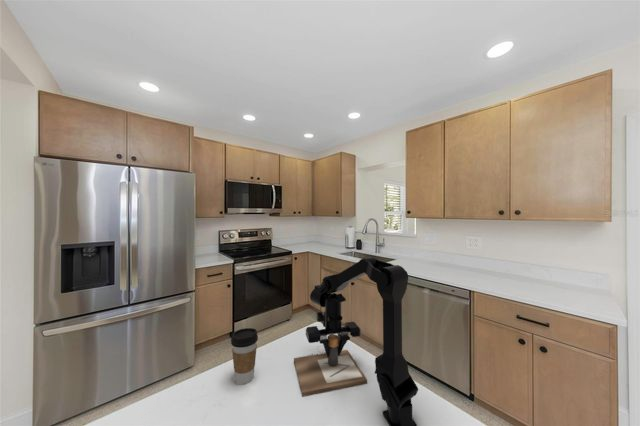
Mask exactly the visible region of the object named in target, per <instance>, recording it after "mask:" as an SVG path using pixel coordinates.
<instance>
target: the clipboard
mask: <svg viewBox="0 0 640 426" xmlns="http://www.w3.org/2000/svg"><path fill="white" fill-rule="evenodd" d="M293 365H294V367H295V373H296V375H297V379H298V380H297V381H298V384H299V389H300V392H301V396H302V397H308V396H311V395H312V396H313V395H318V394H322V393H327V392H332V391H336V390H337V391H338V390H340V389H341V390H342V389H347V388H350V387H351V388H352V387H354V386H356V387H357V386H362V385H365V384H368V379H367V376H365V374H364V372H363V371H362V370H361V368H360V367H359V365H358V363H357V361H355V359H354V357H353V356H352V355H351V353H350V351H349V350H348V349H342V351H341V353H340V355H339V356H338V365H336V366H330V365H329V364H328V357H327V355H326V352H325V353H319V354H311V355H306V356H298V357H293Z"/></svg>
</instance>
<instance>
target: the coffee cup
mask: <svg viewBox="0 0 640 426" xmlns="http://www.w3.org/2000/svg"><path fill="white" fill-rule="evenodd" d="M258 336H259V335H258V331H257V329H256V328H251V327H247V328H242V329H241V328H240V329H237V330H235V331H234V332H233V333H232V337H231V339H230V340H231V341H230V343H231V346H232V348H231V351H232V361H233V362H232V363H233V371H234V372H233V373H234V382H235V383H236V384H237V385H246V384H249V383H250V382H252V381H253V379H254V378H255V367H256V357H257V347H258V344H257V341H258V340H259V337H258Z"/></svg>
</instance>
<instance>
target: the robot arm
mask: <svg viewBox="0 0 640 426" xmlns="http://www.w3.org/2000/svg"><path fill="white" fill-rule="evenodd" d="M364 275H366V276H367V277H368V278H369V280H371V281H372V282H374V283H375V284H376V289H377V291H378V293H379V295H380V298H381V299H382V354H380V355H378V356H376V357H375V360H374V364H375V370H374V374H376V380H377V383H378V386H379V391H380V395H381V400H382V401H384V402H385V403H386V406H387V407H386V408H387V409H386V410H382V416H383V417H384V419H385V420H386V422H387V424H388V425H389V426H418V424H417V423H416V422H415V421H414V419H413V404H412V398H414V397H415V396H417V394H418V392H419V388H418V386H417V384H416V382H415V381H414V379H413V377H412V376H411V374H410V372H409V371H410V370H409V365H408V362H407V360H406V358H405V356H404V354H403V319H402V318H403V317H402V316H403V314H402V312H403V309H402V304H403V298H404V296H405V294H406V291H407V289H408V284H409V283H408V282H409V275H408V272H407V270H406V269H405V268H404V267H403V266H402V265H398V264H397V265H396V264H392V263H390V262H387V261H383V260H380V259H378V258H376V257H373V256H369V257H364V258H363V257H362V258H361V259H359V261H357V262H356V263H354V264H352V265H350V266H349V267H347V268H346V269H344V270H342V271H340V272H339V273H336V274H331V275H327V276H325V277H323V278H322V281H321V284H316V285H314V288H313V289H312V291H310V295H309V299H310V301H311V303H314V304H315V305H317V306H319V307H321V308H324V313H323V312H322V311H321V312H318V311H317V312H316V322H317V323H319V322H321V324H322V327H323V328H321V329H319V328H318V326H317V325H314V326H313V325H312V326H306V328H305V337H306V339H307V342H308V343H309V344H314V343H318V342H319V343H320V344H322V345H323V348H324V351H325V353H326V355H327V357H329V341H328V336H329V335H332V334H334V335H337V336H338V337H339V345H338V356H339V355H340V353H341V351H342V350H344V346H346V344H347V342H348V341H350V340H351V337H353V338H357V337H361V332H362V331H361V328H360V327H359V325H358V324H357V323H356V322H355V321H347V322H344V325H342V321H343V316H342V303H343V302H346V301H347V299H346V297H345V296H344V295H343V294H342V293H338V294H337V292H341V291H343V290H344V289H346V288H347V287H348V285H349V283H351V282H352V281H355V280H357V279H359V278H360V277H362V276H364ZM349 334H350V335H349ZM350 336H351V337H350Z"/></svg>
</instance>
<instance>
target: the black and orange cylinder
mask: <svg viewBox="0 0 640 426" xmlns="http://www.w3.org/2000/svg"><path fill="white" fill-rule="evenodd" d="M327 339H328V341H329V357H328V364H329V365H330V366H336V365H338V345H339V337H338V335H337V334H332V335H327Z"/></svg>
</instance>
